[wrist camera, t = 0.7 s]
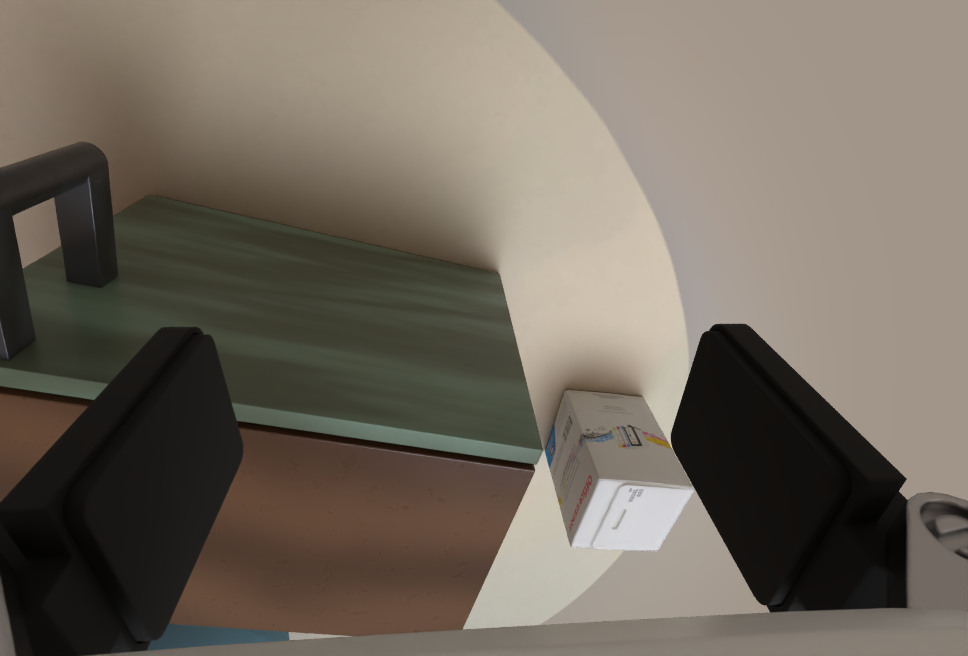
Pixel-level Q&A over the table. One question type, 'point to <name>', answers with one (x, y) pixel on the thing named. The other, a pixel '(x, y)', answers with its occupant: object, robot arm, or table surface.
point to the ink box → (614, 472)
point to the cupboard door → (260, 316)
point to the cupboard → (322, 527)
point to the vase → (212, 636)
